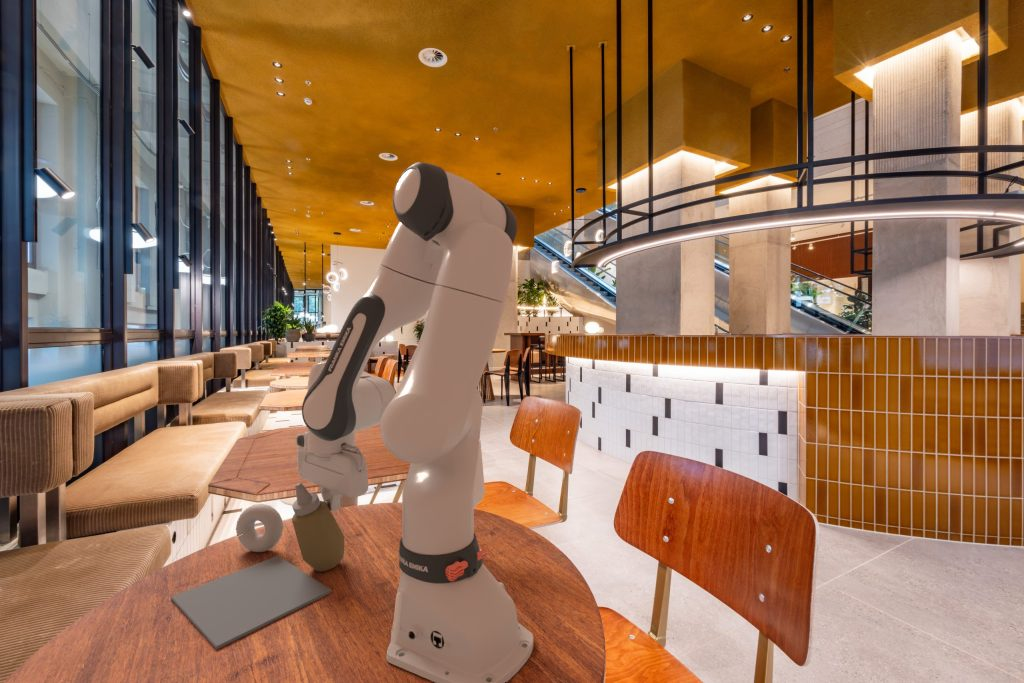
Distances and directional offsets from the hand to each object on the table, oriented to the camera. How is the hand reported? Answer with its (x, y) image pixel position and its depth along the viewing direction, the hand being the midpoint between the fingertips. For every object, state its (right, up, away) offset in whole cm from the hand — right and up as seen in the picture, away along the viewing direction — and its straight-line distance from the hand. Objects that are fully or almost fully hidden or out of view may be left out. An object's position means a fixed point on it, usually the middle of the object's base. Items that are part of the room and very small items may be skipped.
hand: (331, 509), depth 88 cm
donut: (-17, -11, +5) cm, 21 cm away
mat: (-9, -11, -11) cm, 18 cm away
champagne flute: (+27, -11, +4) cm, 30 cm away
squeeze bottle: (0, -10, 0) cm, 10 cm away
